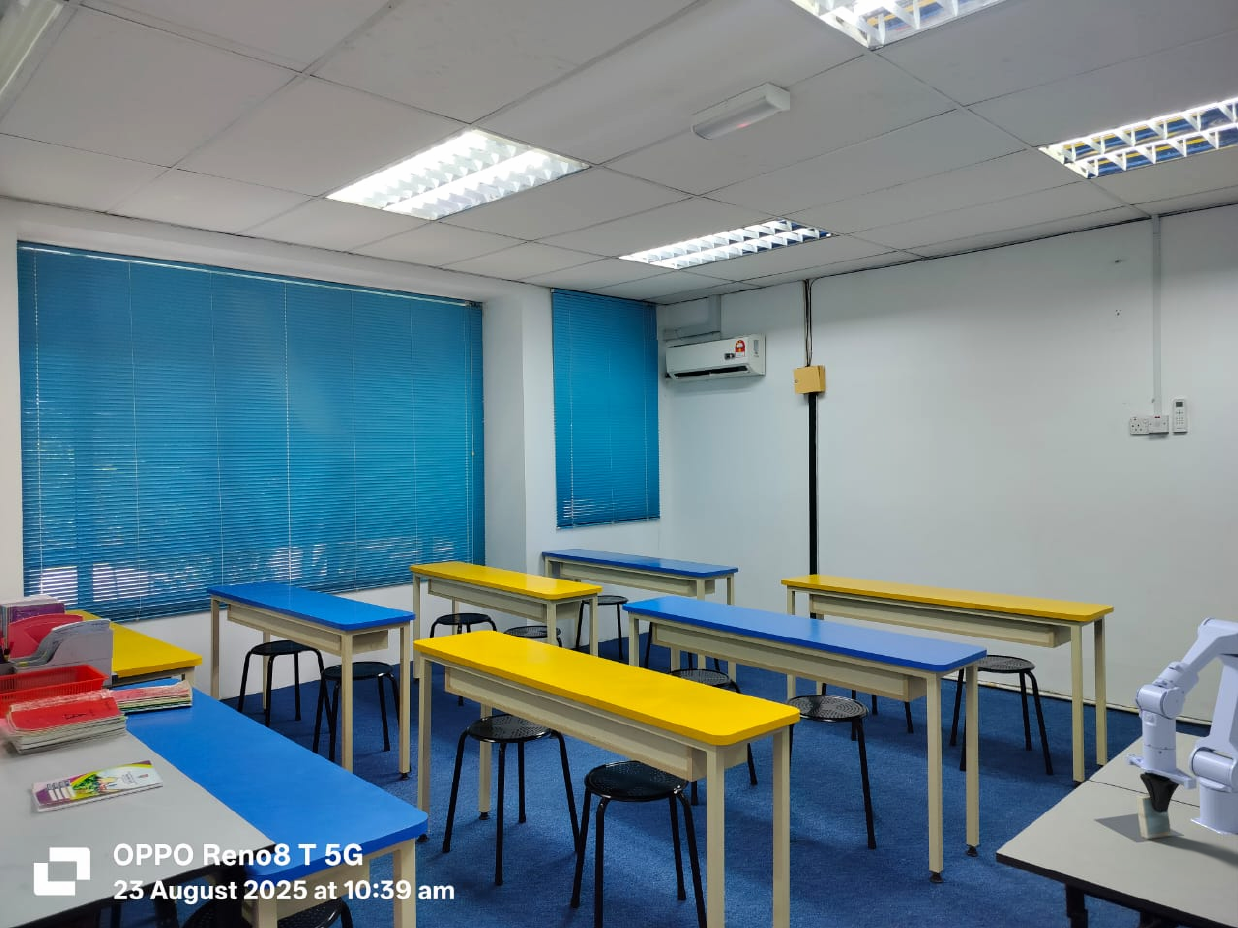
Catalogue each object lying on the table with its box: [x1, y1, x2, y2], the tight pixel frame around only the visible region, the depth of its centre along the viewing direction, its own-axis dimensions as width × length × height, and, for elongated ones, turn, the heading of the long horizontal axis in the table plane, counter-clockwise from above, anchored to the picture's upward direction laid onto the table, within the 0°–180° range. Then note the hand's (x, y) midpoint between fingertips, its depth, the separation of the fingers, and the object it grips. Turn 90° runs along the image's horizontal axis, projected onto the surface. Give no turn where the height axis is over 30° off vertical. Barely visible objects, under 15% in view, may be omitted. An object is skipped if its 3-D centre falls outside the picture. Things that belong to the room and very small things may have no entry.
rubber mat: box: [1093, 812, 1185, 843], centre depth 170 cm, size 12×11×1 cm
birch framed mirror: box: [1135, 794, 1172, 839], centre depth 166 cm, size 6×2×8 cm, turn 103°
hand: (1160, 810), depth 165 cm, fingers closed
